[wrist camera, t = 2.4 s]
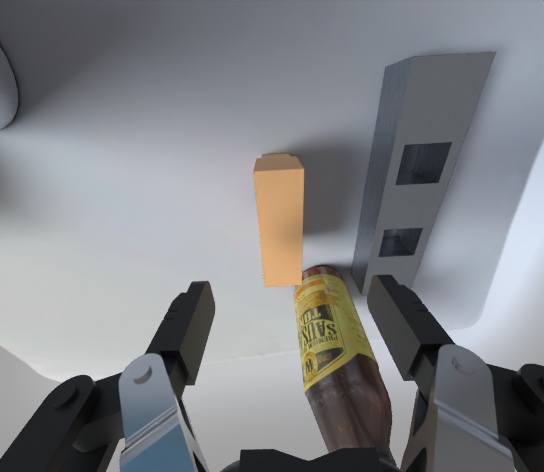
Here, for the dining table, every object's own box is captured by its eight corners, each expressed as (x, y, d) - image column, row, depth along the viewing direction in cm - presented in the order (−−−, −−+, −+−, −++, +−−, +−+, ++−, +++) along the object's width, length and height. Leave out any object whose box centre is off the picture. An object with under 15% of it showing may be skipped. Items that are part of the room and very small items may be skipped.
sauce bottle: (309, 255, 25) (403, 584, 8) (353, 274, 26) (512, 585, 9) (282, 292, 28) (304, 592, 10) (322, 308, 29) (399, 591, 12)
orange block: (265, 240, 24) (264, 287, 17) (258, 151, 19) (253, 171, 13) (292, 239, 24) (301, 285, 17) (292, 149, 19) (304, 168, 13)
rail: (350, 274, 26) (361, 295, 23) (385, 67, 16) (412, 57, 13) (392, 272, 26) (408, 293, 23) (453, 62, 16) (496, 51, 13)
